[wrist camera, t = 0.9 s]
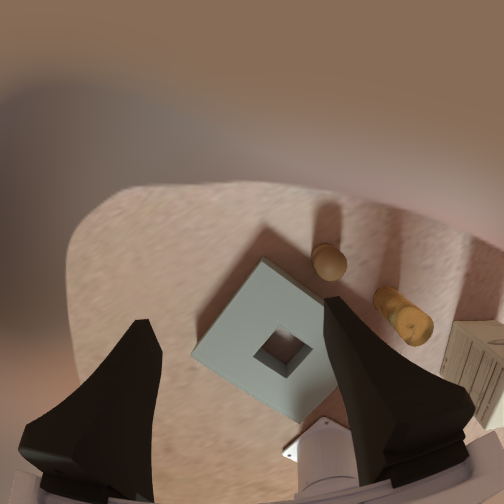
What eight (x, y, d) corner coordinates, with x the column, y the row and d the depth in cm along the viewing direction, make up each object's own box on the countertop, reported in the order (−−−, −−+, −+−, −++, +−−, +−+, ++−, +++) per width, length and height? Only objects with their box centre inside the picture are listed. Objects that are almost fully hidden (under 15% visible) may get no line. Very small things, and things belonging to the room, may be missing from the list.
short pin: (344, 254, 31) (353, 261, 27) (327, 276, 32) (333, 287, 28) (322, 237, 31) (328, 242, 27) (305, 260, 32) (309, 268, 28)
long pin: (402, 295, 31) (439, 325, 22) (386, 316, 32) (418, 352, 23) (384, 280, 31) (418, 307, 22) (368, 302, 32) (396, 335, 23)
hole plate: (368, 333, 32) (375, 344, 29) (298, 408, 34) (299, 423, 31) (263, 255, 32) (261, 261, 29) (196, 343, 34) (189, 355, 31)
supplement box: (496, 317, 31) (558, 357, 18) (480, 370, 32) (531, 420, 20) (452, 318, 31) (513, 365, 19) (436, 374, 32) (484, 434, 20)
